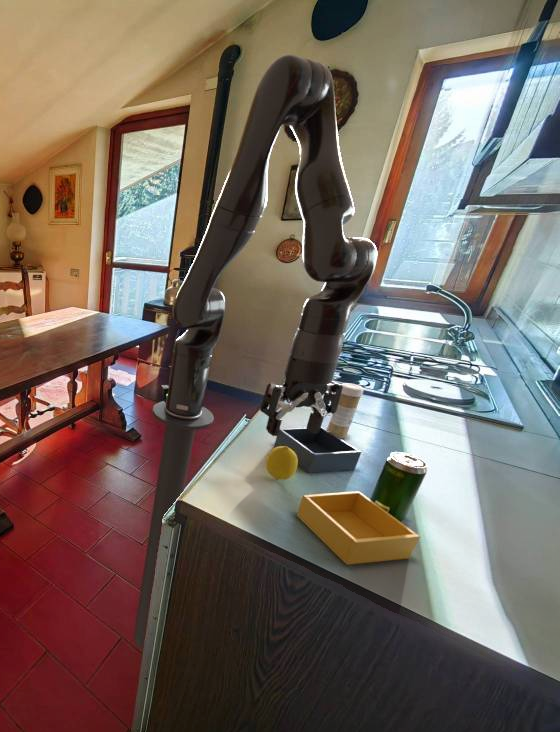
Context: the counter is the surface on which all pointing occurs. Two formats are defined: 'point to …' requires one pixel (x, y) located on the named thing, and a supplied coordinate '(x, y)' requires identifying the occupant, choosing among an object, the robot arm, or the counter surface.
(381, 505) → the beer can
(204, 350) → the robot arm
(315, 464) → the slate bin
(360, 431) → the counter surface
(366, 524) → the yellow bin
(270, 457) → the lemon
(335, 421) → the sprinkles bottle
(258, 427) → the counter surface
